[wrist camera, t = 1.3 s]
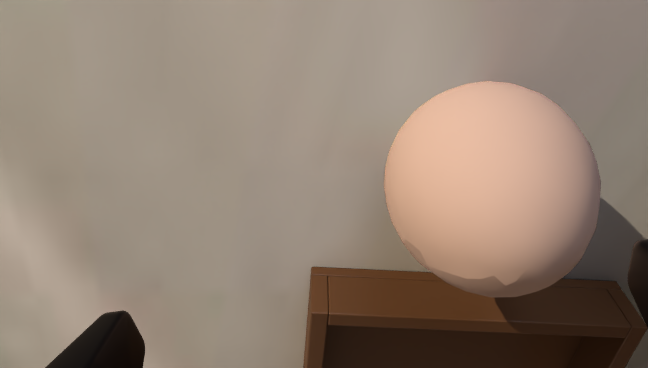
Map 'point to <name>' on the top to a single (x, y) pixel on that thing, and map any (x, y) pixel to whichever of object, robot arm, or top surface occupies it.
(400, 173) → the egg
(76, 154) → the top surface
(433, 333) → the tray
